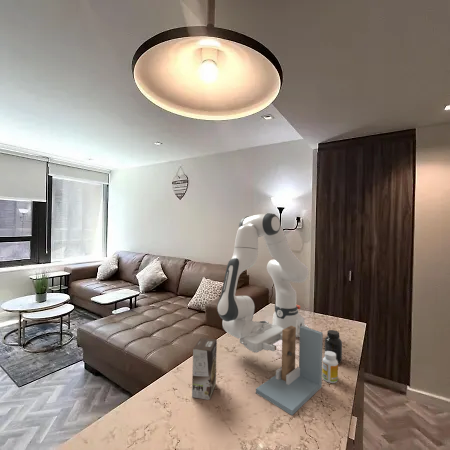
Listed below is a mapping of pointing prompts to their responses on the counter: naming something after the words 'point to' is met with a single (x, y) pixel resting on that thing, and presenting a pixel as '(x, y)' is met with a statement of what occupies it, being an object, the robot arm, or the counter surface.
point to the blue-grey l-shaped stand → (297, 375)
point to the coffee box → (204, 368)
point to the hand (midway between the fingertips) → (282, 344)
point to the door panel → (288, 350)
